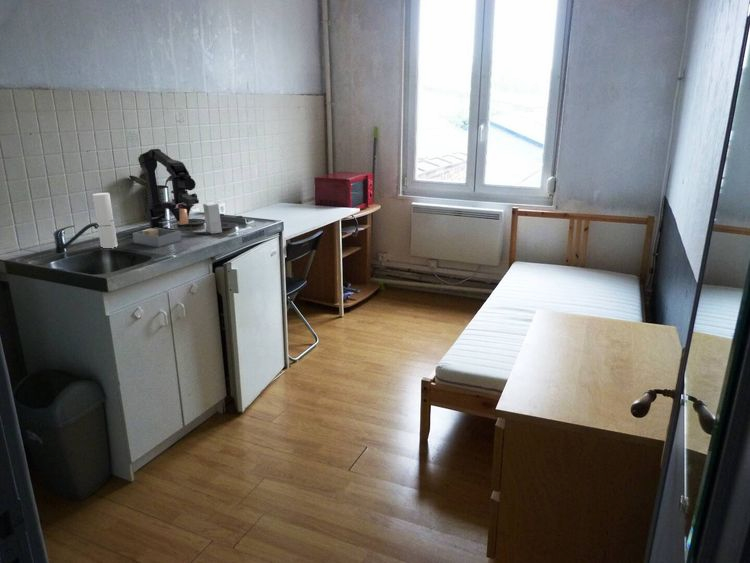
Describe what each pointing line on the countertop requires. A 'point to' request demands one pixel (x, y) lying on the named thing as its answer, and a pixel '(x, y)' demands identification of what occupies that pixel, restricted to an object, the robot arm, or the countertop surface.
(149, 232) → the beech cube
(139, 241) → the tote
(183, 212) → the terracotta cylinder
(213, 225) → the skincare box
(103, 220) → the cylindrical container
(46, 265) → the countertop surface
